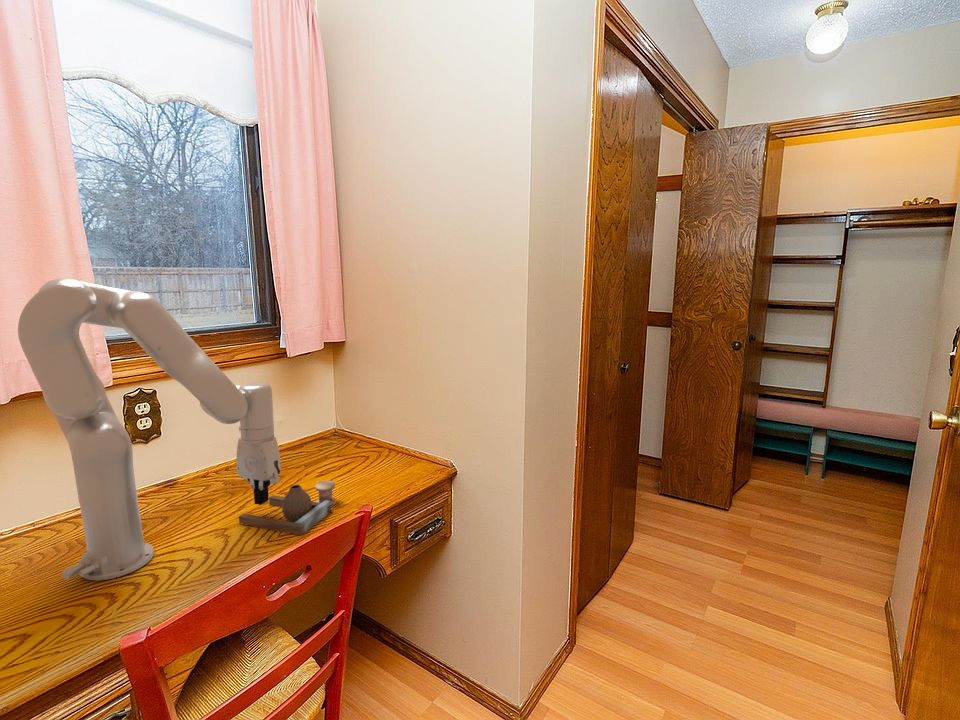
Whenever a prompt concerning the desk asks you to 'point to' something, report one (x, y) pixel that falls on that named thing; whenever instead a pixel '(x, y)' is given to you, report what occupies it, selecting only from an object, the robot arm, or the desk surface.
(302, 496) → the vase
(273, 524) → the channel
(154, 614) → the desk surface
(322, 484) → the thread spool
